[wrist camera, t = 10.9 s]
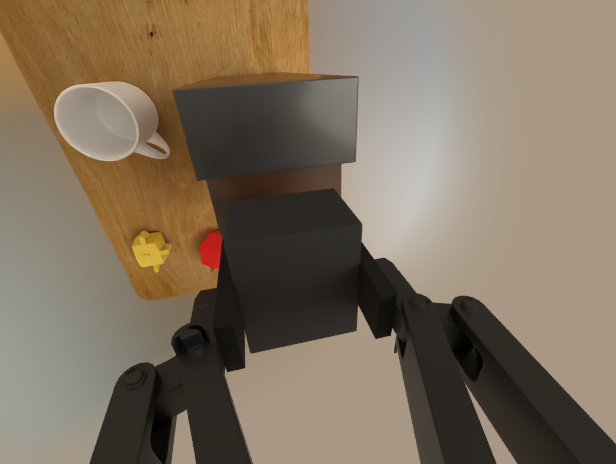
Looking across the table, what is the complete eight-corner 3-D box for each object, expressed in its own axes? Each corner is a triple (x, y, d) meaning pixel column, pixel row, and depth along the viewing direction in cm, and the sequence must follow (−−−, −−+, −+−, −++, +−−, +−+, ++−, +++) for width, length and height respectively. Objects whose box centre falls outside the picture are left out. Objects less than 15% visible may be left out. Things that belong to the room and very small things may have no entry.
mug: (160, 167, 47) (141, 191, 38) (83, 114, 41) (39, 127, 32) (191, 128, 45) (178, 142, 36) (114, 66, 39) (76, 65, 30)
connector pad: (227, 201, 15) (223, 245, 11) (333, 187, 16) (363, 223, 12) (248, 296, 19) (250, 354, 15) (334, 280, 20) (356, 331, 16)
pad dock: (217, 76, 42) (171, 89, 14) (282, 72, 43) (358, 76, 16) (238, 188, 51) (237, 329, 23) (292, 181, 53) (350, 306, 25)
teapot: (180, 257, 56) (174, 273, 51) (149, 262, 55) (141, 278, 50) (167, 222, 52) (160, 236, 47) (134, 226, 51) (124, 241, 46)
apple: (209, 230, 48) (195, 273, 49) (245, 239, 52) (232, 279, 52) (201, 222, 54) (189, 261, 54) (234, 231, 58) (222, 267, 58)
